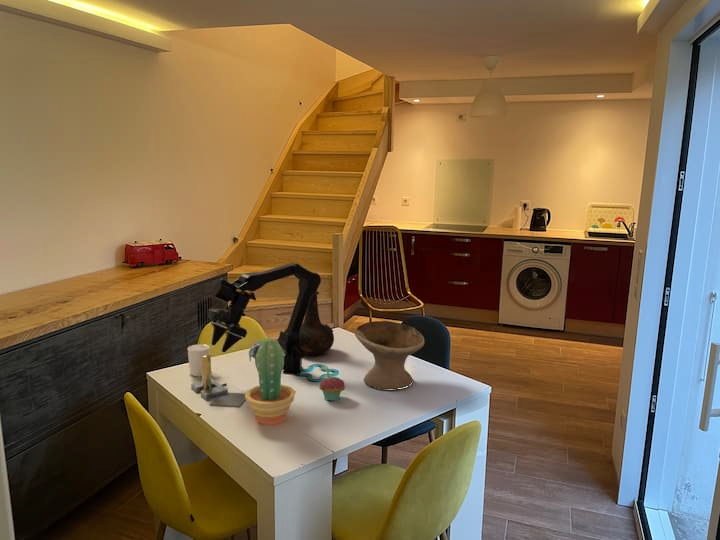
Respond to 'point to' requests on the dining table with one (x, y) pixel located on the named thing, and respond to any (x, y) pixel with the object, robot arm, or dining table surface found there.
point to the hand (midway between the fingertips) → (217, 348)
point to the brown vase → (315, 331)
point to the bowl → (389, 352)
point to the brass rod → (206, 371)
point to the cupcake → (331, 387)
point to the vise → (210, 393)
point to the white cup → (197, 358)
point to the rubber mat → (229, 400)
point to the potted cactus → (269, 383)
